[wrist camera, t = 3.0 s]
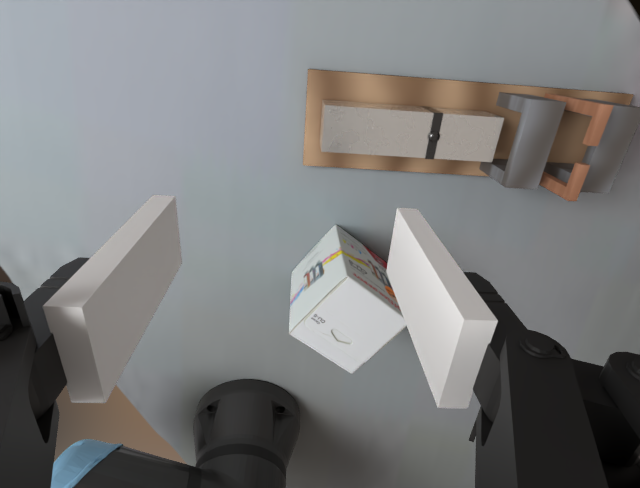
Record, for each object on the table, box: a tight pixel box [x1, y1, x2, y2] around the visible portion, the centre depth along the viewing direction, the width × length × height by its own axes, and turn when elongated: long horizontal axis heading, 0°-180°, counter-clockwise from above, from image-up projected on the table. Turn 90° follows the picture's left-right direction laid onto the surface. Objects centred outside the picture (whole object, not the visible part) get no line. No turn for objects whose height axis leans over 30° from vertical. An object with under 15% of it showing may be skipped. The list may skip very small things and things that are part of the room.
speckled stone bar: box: [320, 100, 504, 162], centre depth 37 cm, size 16×4×4 cm, turn 86°
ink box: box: [289, 225, 407, 374], centre depth 42 cm, size 9×9×12 cm
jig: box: [303, 69, 640, 201], centre depth 36 cm, size 32×9×9 cm, turn 86°
